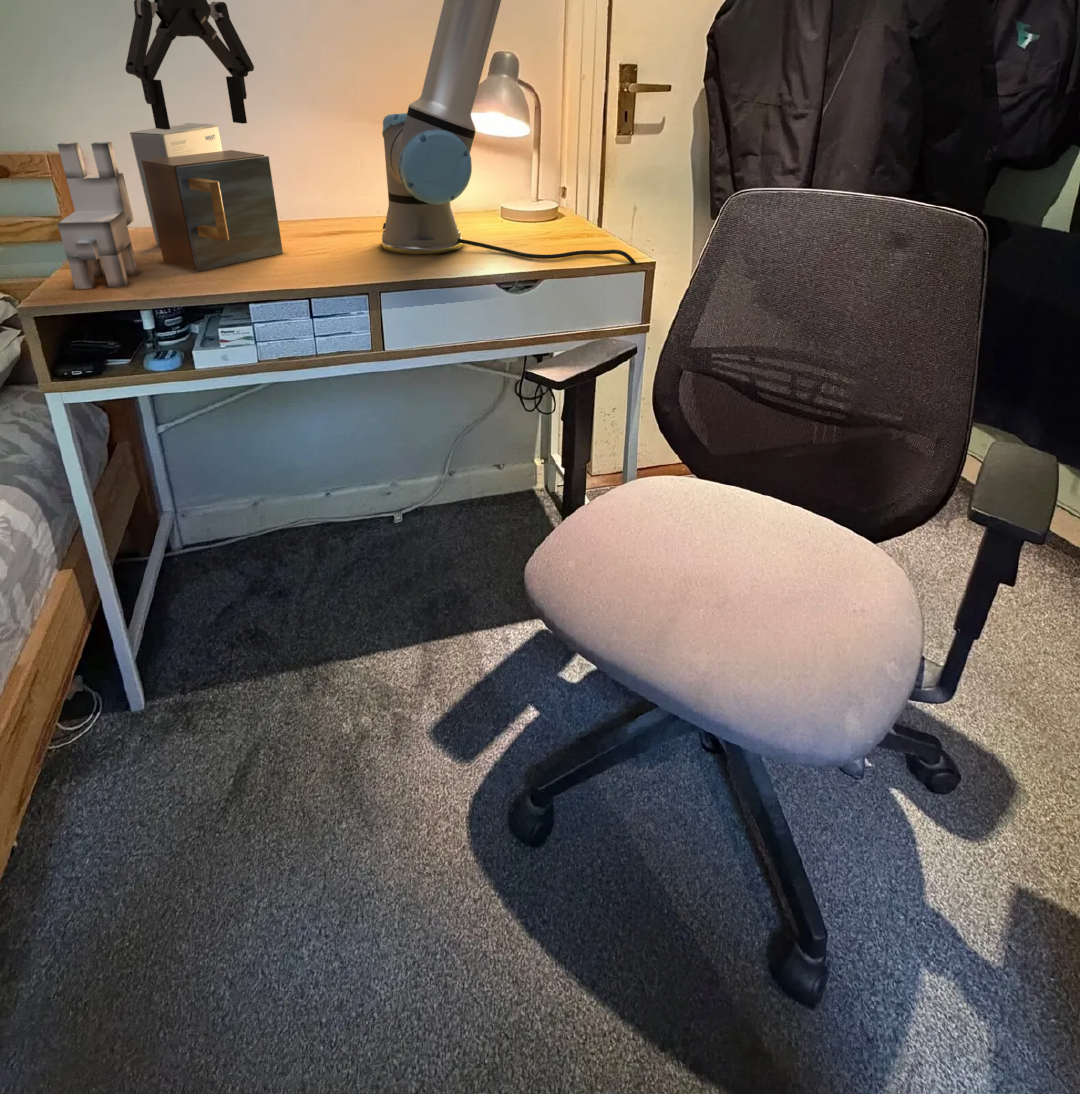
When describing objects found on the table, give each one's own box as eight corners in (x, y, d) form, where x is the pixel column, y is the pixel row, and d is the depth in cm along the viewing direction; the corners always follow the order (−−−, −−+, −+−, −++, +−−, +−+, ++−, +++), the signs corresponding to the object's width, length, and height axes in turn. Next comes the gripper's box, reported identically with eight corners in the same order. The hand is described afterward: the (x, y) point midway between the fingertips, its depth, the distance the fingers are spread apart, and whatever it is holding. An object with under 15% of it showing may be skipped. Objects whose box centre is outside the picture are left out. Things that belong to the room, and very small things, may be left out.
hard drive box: (208, 230, 174) (188, 122, 163) (239, 233, 172) (220, 124, 161) (154, 245, 162) (128, 130, 151) (186, 249, 159) (162, 132, 149)
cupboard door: (306, 258, 154) (294, 159, 145) (223, 278, 142) (203, 171, 133) (279, 252, 158) (265, 155, 149) (195, 270, 146) (174, 166, 137)
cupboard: (278, 252, 158) (264, 154, 149) (195, 271, 146) (173, 165, 137) (247, 245, 163) (231, 149, 154) (163, 262, 151) (141, 160, 142)
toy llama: (71, 293, 133) (32, 154, 123) (98, 266, 148) (66, 140, 137) (121, 291, 135) (87, 154, 124) (144, 264, 149) (115, 140, 139)
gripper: (233, -35, 131) (255, 118, 142) (74, -45, 114) (113, 129, 125) (263, -35, 127) (283, 122, 138) (104, -47, 110) (141, 133, 121)
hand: (202, 125), depth 132 cm, fingers open, 13 cm apart
